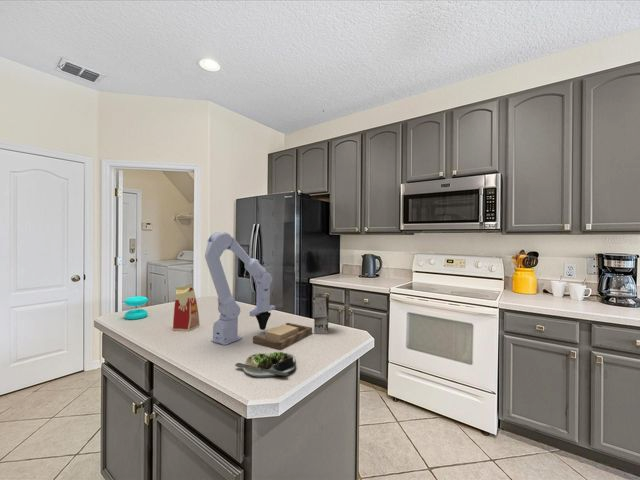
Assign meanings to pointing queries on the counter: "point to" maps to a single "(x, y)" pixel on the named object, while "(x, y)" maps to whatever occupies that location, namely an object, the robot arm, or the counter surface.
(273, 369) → the salad plate
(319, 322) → the coffee box
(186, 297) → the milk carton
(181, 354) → the counter surface
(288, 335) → the kraft carton
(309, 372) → the counter surface
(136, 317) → the turquoise double disc piece
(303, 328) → the tray
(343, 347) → the counter surface
